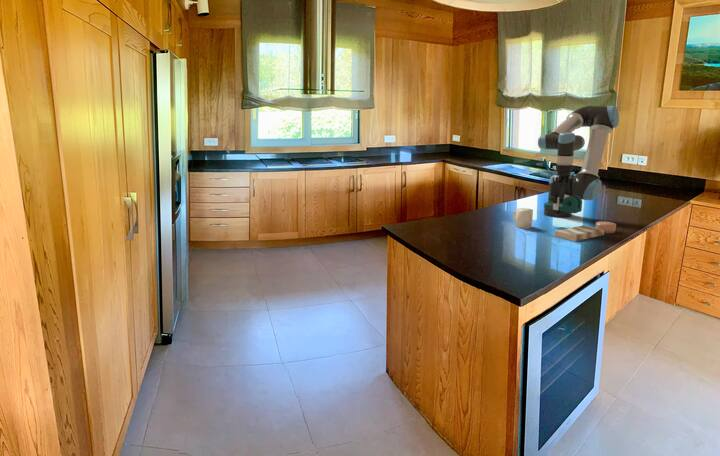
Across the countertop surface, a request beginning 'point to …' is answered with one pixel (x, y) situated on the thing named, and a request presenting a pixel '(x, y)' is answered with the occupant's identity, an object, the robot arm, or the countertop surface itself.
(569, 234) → the tray
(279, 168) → the countertop surface
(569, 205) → the bracket
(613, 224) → the peach flattened dome
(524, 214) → the mug
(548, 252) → the countertop surface
